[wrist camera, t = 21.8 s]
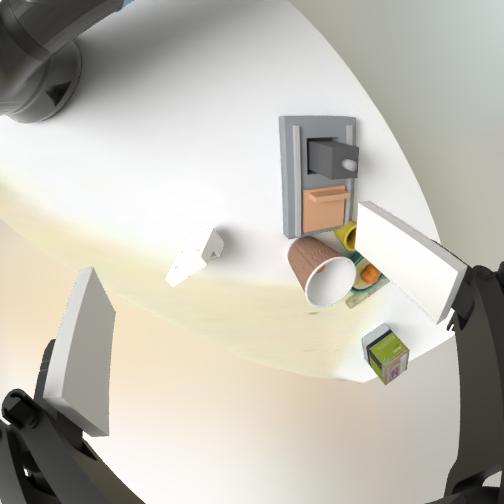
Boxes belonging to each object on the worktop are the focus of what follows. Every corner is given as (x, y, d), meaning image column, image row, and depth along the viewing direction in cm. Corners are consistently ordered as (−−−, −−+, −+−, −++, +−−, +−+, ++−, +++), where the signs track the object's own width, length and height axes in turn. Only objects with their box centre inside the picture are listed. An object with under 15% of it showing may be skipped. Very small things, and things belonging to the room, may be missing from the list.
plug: (304, 140, 44) (339, 149, 34) (329, 139, 45) (366, 149, 36) (304, 167, 46) (338, 183, 37) (328, 165, 47) (364, 181, 38)
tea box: (385, 343, 87) (407, 370, 75) (363, 358, 87) (384, 387, 75) (384, 321, 79) (410, 350, 67) (360, 338, 79) (384, 370, 67)
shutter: (302, 189, 45) (312, 195, 43) (343, 184, 47) (353, 189, 44) (302, 230, 49) (311, 238, 47) (340, 223, 51) (350, 230, 48)
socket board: (278, 116, 41) (286, 117, 38) (347, 116, 44) (358, 117, 41) (283, 233, 52) (290, 241, 49) (344, 221, 55) (353, 228, 52)
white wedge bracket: (164, 252, 47) (165, 279, 39) (210, 221, 46) (219, 243, 39) (176, 266, 49) (179, 294, 41) (221, 236, 48) (232, 260, 41)
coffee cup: (299, 280, 58) (326, 315, 48) (269, 256, 53) (294, 292, 43) (332, 246, 57) (365, 275, 47) (305, 218, 51) (338, 245, 41)
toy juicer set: (285, 273, 57) (301, 295, 50) (344, 208, 53) (367, 223, 47) (348, 318, 71) (362, 336, 65) (392, 271, 68) (410, 286, 61)
